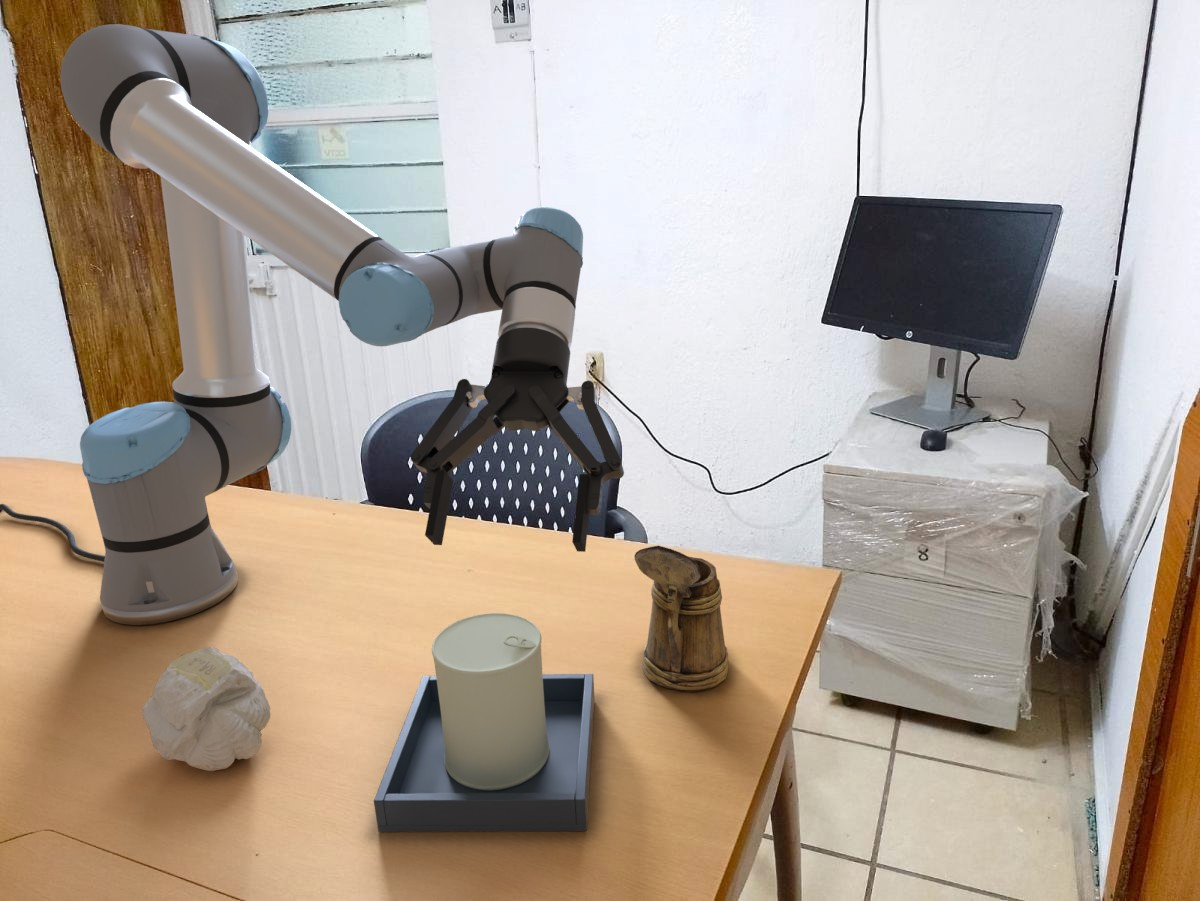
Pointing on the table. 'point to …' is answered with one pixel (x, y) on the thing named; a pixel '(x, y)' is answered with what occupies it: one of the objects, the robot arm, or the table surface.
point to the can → (491, 700)
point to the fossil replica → (207, 710)
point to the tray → (440, 804)
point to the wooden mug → (683, 621)
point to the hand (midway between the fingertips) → (505, 544)
